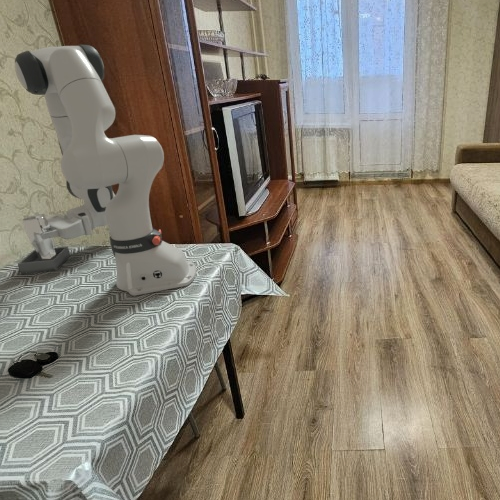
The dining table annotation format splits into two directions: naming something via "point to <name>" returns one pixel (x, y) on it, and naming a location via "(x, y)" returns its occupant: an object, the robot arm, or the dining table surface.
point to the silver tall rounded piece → (34, 229)
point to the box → (43, 262)
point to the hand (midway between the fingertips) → (35, 234)
